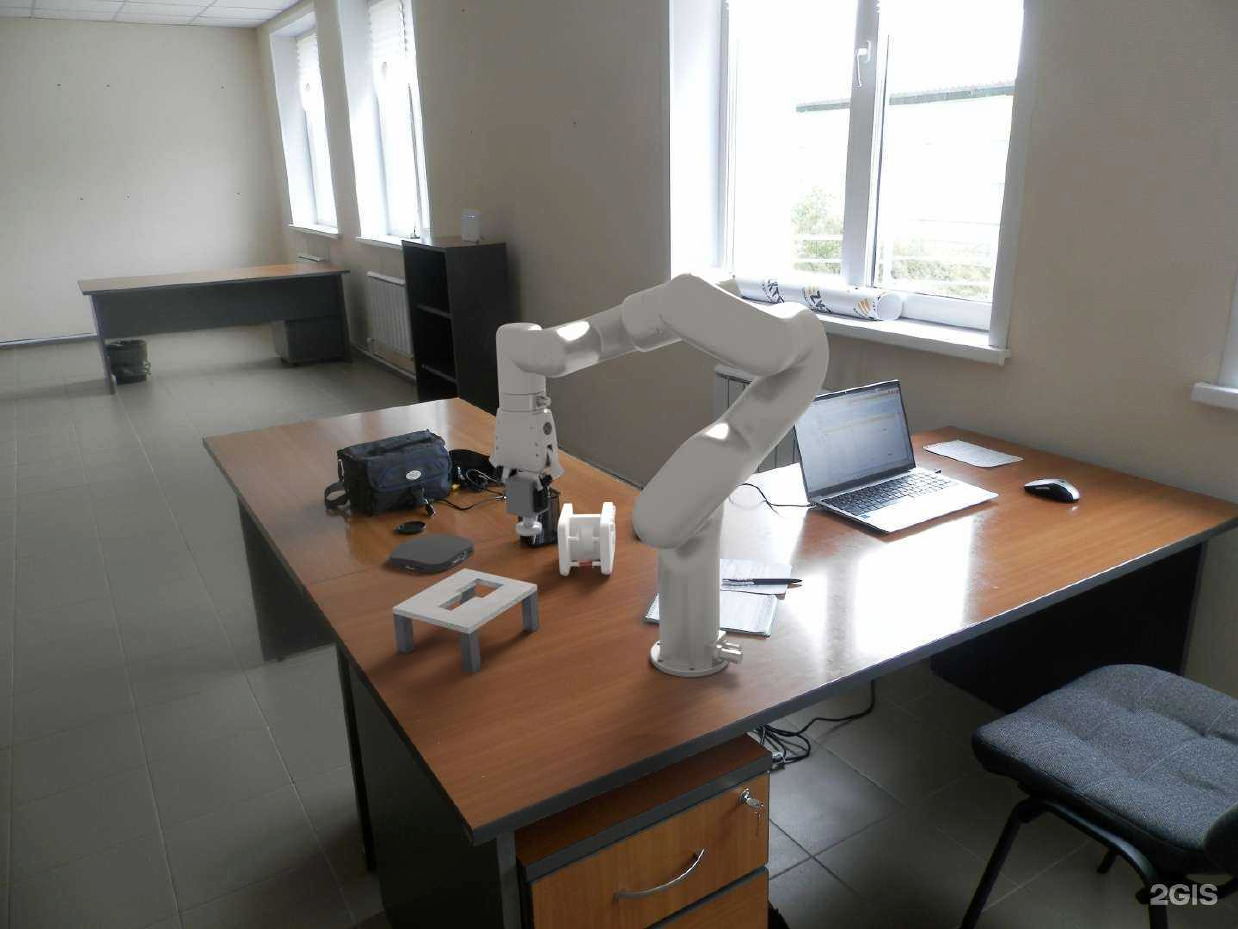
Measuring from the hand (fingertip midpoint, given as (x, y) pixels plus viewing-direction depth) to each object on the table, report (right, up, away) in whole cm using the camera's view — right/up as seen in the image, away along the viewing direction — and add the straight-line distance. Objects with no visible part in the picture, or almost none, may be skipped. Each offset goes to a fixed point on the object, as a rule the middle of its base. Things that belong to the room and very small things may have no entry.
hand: (527, 506), depth 149 cm
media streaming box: (-24, -13, +38) cm, 47 cm away
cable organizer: (+9, -14, +31) cm, 35 cm away
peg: (0, -4, +1) cm, 4 cm away
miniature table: (-10, -23, +2) cm, 25 cm away
